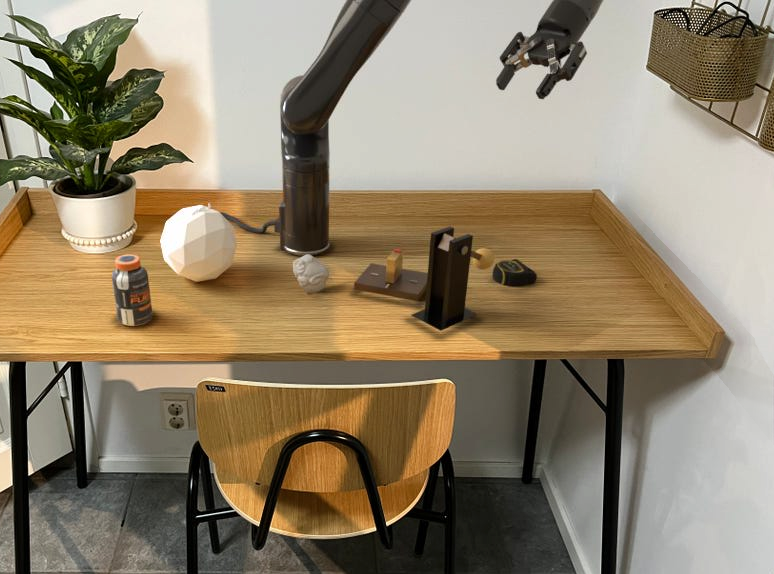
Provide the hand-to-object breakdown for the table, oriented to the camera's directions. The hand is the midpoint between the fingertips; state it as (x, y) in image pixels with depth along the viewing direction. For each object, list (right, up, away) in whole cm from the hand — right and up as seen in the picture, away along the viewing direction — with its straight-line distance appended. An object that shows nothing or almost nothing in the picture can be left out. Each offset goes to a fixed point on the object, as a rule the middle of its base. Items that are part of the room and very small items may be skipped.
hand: (518, 91), depth 133 cm
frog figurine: (-36, -34, +8) cm, 50 cm away
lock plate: (-21, -34, +8) cm, 40 cm away
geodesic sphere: (-57, -30, +14) cm, 66 cm away
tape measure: (+2, -32, +11) cm, 34 cm away
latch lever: (-11, -30, -5) cm, 32 cm away
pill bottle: (-66, -39, 0) cm, 77 cm away
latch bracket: (-13, -40, -1) cm, 42 cm away
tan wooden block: (-21, -31, +7) cm, 38 cm away
